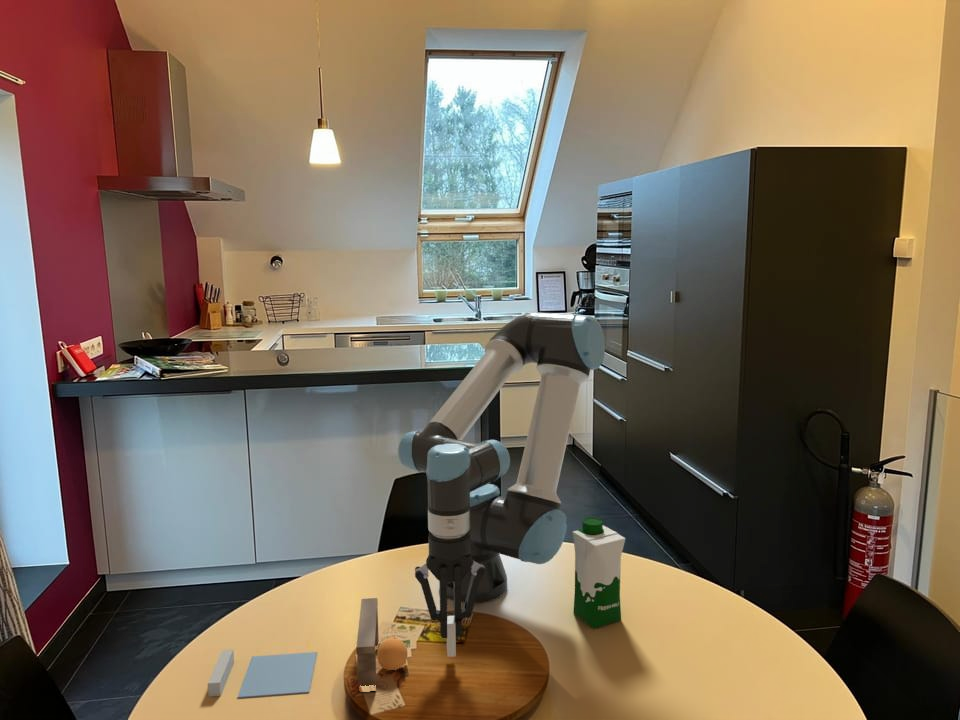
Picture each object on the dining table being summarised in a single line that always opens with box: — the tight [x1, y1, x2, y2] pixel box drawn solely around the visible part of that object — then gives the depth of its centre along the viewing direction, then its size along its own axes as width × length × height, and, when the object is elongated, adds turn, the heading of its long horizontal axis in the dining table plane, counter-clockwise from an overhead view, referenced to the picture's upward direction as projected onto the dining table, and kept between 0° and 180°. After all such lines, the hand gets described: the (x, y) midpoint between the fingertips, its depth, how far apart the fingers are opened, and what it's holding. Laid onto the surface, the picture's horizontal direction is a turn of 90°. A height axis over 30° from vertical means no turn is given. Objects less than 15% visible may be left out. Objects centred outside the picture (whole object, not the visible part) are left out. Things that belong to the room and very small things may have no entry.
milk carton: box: [572, 517, 626, 629], centre depth 143 cm, size 9×9×20 cm
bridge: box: [355, 597, 380, 686], centre depth 128 cm, size 3×16×9 cm, turn 6°
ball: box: [376, 637, 408, 671], centre depth 128 cm, size 6×6×6 cm
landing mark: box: [237, 651, 318, 699], centre depth 127 cm, size 12×12×1 cm
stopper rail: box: [207, 648, 235, 698], centre depth 125 cm, size 10×2×2 cm, turn 6°
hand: (451, 652), depth 130 cm, fingers closed
